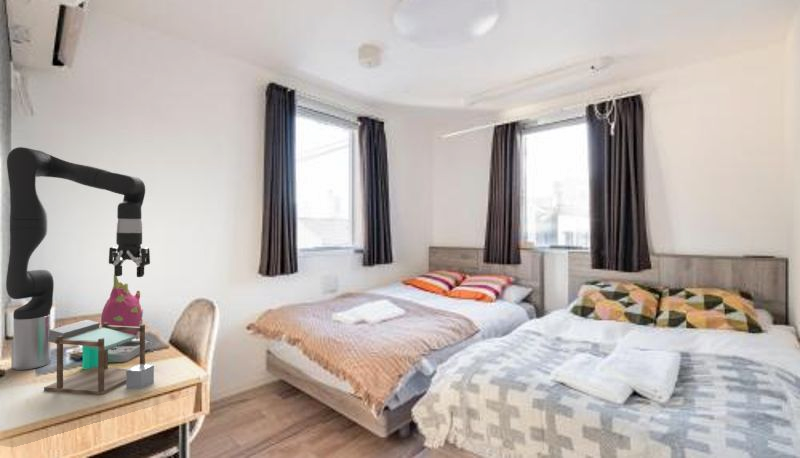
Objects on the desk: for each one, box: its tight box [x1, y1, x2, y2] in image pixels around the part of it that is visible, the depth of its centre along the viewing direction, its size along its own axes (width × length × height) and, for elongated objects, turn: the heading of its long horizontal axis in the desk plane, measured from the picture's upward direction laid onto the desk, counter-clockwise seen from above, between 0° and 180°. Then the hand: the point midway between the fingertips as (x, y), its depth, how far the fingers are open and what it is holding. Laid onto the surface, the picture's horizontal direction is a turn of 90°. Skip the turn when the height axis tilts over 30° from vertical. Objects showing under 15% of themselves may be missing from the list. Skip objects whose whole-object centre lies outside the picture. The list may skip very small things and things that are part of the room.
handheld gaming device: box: [108, 340, 151, 363], centre depth 141 cm, size 9×15×4 cm, turn 3°
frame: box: [43, 322, 146, 396], centre depth 118 cm, size 19×16×16 cm
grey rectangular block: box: [125, 363, 155, 390], centre depth 117 cm, size 5×5×6 cm
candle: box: [82, 346, 98, 370], centre depth 131 cm, size 6×6×12 cm
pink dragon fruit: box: [100, 273, 144, 345], centre depth 152 cm, size 18×14×30 cm
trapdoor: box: [48, 319, 136, 350], centre depth 118 cm, size 19×12×4 cm, turn 83°
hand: (129, 276), depth 134 cm, fingers open, 8 cm apart
